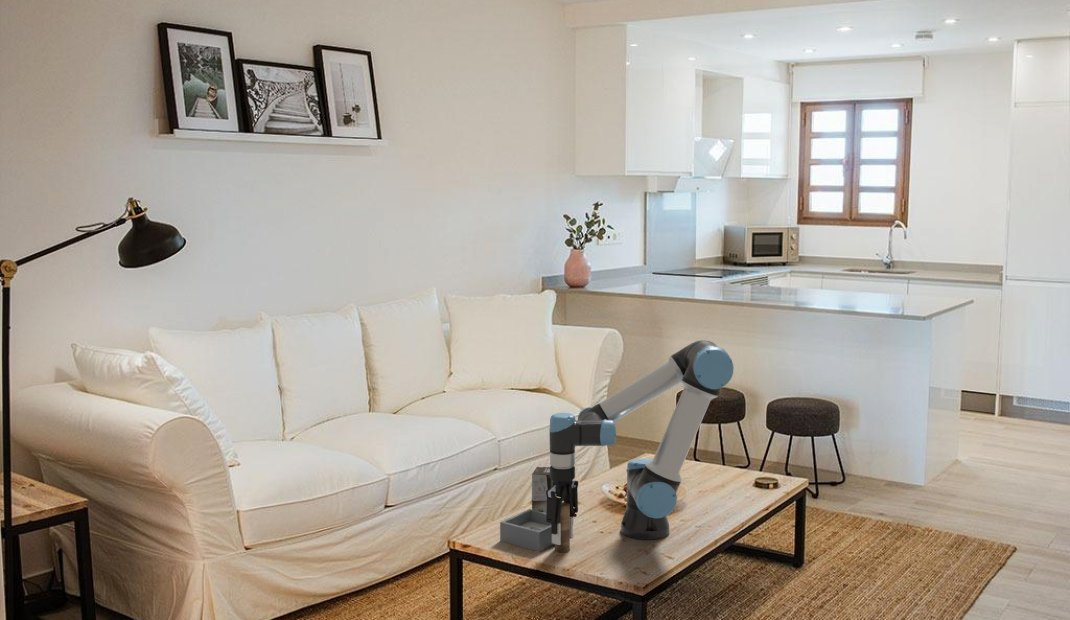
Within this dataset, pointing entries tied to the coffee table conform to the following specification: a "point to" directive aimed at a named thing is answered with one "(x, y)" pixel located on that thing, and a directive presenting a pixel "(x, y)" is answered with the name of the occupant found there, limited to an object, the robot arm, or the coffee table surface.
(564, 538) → the peg
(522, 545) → the bin
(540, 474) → the coffee box
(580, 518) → the coffee table surface
